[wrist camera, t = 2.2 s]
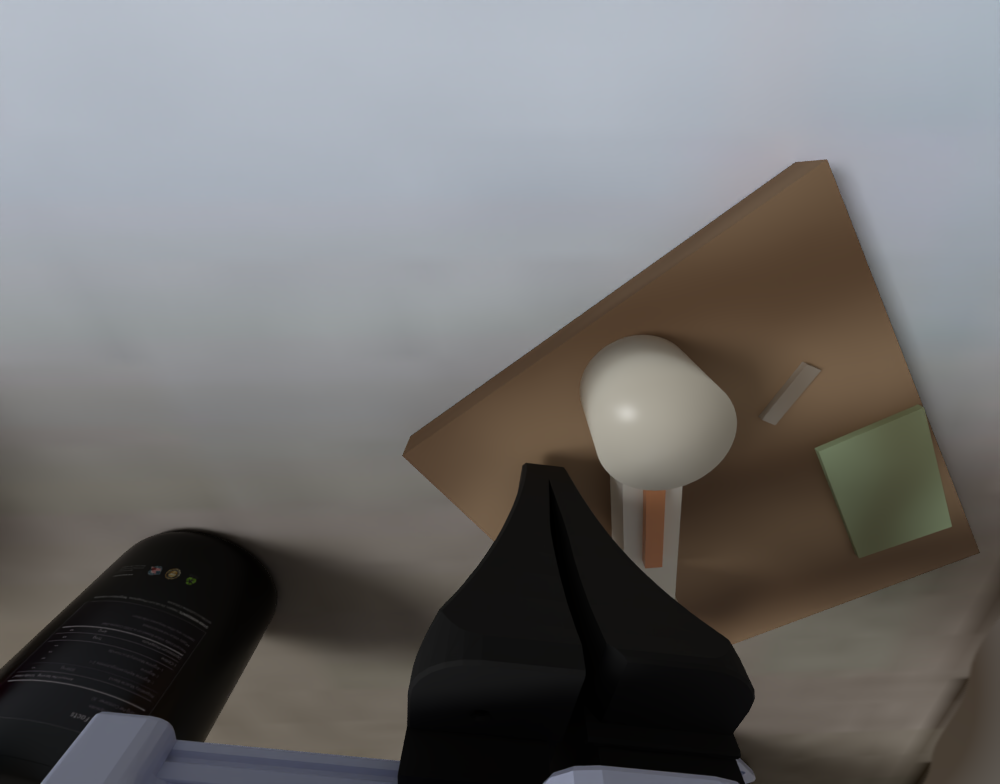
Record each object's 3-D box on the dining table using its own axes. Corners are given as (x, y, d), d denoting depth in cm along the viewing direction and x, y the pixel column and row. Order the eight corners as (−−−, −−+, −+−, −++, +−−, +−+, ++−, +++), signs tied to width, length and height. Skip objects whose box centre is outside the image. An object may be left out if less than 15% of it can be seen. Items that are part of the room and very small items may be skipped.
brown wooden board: (948, 528, 16) (985, 557, 15) (634, 652, 20) (641, 683, 19) (795, 162, 11) (832, 158, 9) (410, 436, 15) (401, 458, 14)
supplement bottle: (276, 639, 21) (20, 1123, 10) (134, 605, 20) (-311, 1096, 9) (292, 549, 18) (-47, 1103, 7) (127, 505, 17) (-549, 1060, 6)
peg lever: (675, 614, 16) (712, 712, 13) (594, 619, 16) (612, 716, 13) (696, 327, 11) (766, 381, 8) (576, 342, 11) (598, 400, 8)
